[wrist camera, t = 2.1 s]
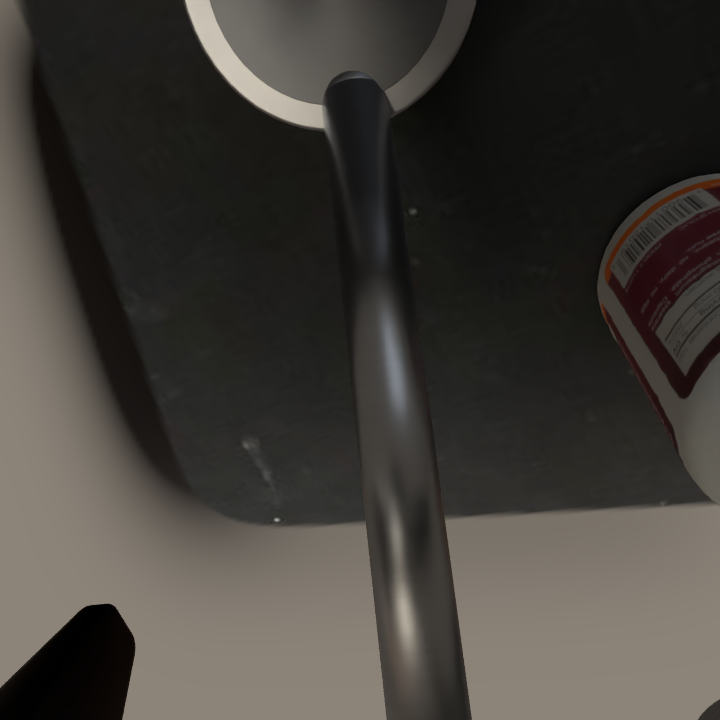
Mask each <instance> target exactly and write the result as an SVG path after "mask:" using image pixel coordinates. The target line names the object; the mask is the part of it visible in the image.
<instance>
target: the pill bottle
mask: <svg viewBox="0 0 720 720" xmlns="http://www.w3.org/2000/svg"><path fill="white" fill-rule="evenodd" d="M597 291H598V299H599V303H600V307H601V311H602V314H603V316H604V318H605V320H606V323H607V324H608V326H609V328H610V331H611V333H612V335H613V337H614V339H615V340H616V342H617V343H618V345H619V346H620V349H621V350H622V352H623V354H624V356H625V357H626V359H627V361H628V362H629V364H630V366H631V368H632V369H633V371H634V373H635V375H636V377H637V379H638V381H639V383H640V385H641V386H642V388H643V390H644V391H645V393H646V395H647V397H648V399H649V401H650V403H651V405H652V406H653V408H654V410H655V412H656V414H657V416H658V418H659V420H660V421H661V423H662V425H663V427H664V428H665V430H666V432H667V434H668V436H669V438H670V440H671V442H672V444H673V445H674V447H675V449H676V451H677V453H678V455H679V457H680V459H681V461H682V463H683V465H684V467H685V468H686V470H687V471H688V473H689V474H690V475H691V477H692V479H693V480H694V481H695V482H696V484H697V485H698V486H699V488H700V489H701V490H702V491H703V492H704V493H705V494H706V495H707V496H708V497H709V498H710V499H712V500H713V501H714V502H715V503H717V504H718V505H719V506H720V174H710V175H703V176H696V177H693V178H690V179H686V180H684V181H681V182H679V183H676V184H674V185H672V186H669V187H667V188H666V189H664V190H662V191H660V192H658V193H657V194H655V195H653V196H652V197H650V198H649V199H647V200H646V201H645V202H643V203H642V204H641V205H640V206H638V207H637V208H636V209H635V210H634V211H633V212H632V213H631V214H630V215H629V216H628V217H627V218H626V219H625V220H624V221H623V223H622V224H621V225H620V226H619V227H618V229H617V230H616V232H615V233H614V235H613V237H612V238H611V240H610V242H609V244H608V246H607V248H606V250H605V253H604V256H603V259H602V261H601V265H600V270H599V276H598V284H597Z"/></svg>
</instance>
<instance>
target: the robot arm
mask: <svg viewBox="0 0 720 720" xmlns="http://www.w3.org/2000/svg"><path fill="white" fill-rule="evenodd" d="M134 656H135V641H134V637H133V635H132V633H131V632H130V630H129V628H128V627H127V625H126V623H125V622H124V620H123V618H122V617H121V615H120V613H119V612H118V610H117V609H116V607H115V606H113V605H111V604H99V605H90V606H86V607H84V608H83V609H82V610H80V611H79V612H78V613H77V614H76V615H75V616H74V617H73V618H72V619H71V620H70V621H69V622H68V623H67V624H66V625H65V626H64V627H62V629H61V630H60V631H58V632H57V633H56V634H55V635H54V636H53V637H52V638H51V639H50V640H49V641H48V642H47V643H46V644H45V645H44V646H43V647H42V648H41V649H40V650H39V651H38V652H37V653H36V654H35V655H34V656H33V657H32V658H31V659H30V660H28V661H27V662H26V663H25V664H24V665H23V666H22V667H21V668H20V669H19V670H18V671H17V672H16V673H15V674H14V675H13V676H12V677H11V678H10V679H9V680H8V681H7V682H6V683H5V684H4V685H3V686H2V687H1V688H0V720H122V717H123V713H124V707H125V702H126V697H127V692H128V687H129V681H130V676H131V671H132V666H133V661H134Z"/></svg>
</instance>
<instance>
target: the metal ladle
mask: <svg viewBox="0 0 720 720" xmlns="http://www.w3.org/2000/svg"><path fill="white" fill-rule="evenodd" d="M477 1H478V0H183V4H184V8H185V12H186V14H187V17H188V20H189V22H190V25H191V28H192V30H193V33H194V35H195V37H196V38H197V40H198V42H199V44H200V46H201V48H202V50H203V52H204V54H205V55H206V57H207V58H208V60H209V61H210V63H211V64H212V66H213V67H214V69H215V70H216V71H217V72H218V74H219V75H220V76H221V77H222V78H223V80H224V81H225V82H226V83H227V84H228V85H229V86H230V87H231V88H232V89H233V90H234V91H235V92H236V93H237V94H238V95H239V96H240V97H241V98H243V99H244V100H245V101H247V102H248V103H249V104H251V105H252V106H253V107H255V108H256V109H257V110H259V111H261V112H263V113H264V114H266V115H268V116H270V117H271V118H273V119H276V120H278V121H280V122H283V123H285V124H288V125H290V126H294V127H298V128H301V129H305V130H310V131H318V132H325V141H326V151H327V160H328V170H329V179H330V188H331V198H332V207H333V217H334V226H335V236H336V245H337V254H338V264H339V273H340V283H341V292H342V302H343V311H344V320H345V330H346V339H347V349H348V358H349V368H350V377H351V386H352V396H353V405H354V415H355V424H356V434H357V443H358V452H359V462H360V471H361V481H362V490H363V500H364V509H365V518H366V528H367V537H368V546H369V555H370V566H371V575H372V584H373V594H374V602H375V613H376V622H377V632H378V641H379V649H380V660H381V669H382V678H383V688H384V697H385V707H386V716H387V720H472V718H471V710H470V703H469V696H468V689H467V681H466V673H465V666H464V658H463V652H462V644H461V636H460V629H459V621H458V614H457V607H456V599H455V592H454V585H453V577H452V570H451V562H450V555H449V548H448V540H447V533H446V525H445V518H444V510H443V503H442V495H441V488H440V481H439V473H438V466H437V458H436V451H435V443H434V436H433V429H432V421H431V414H430V406H429V399H428V392H427V384H426V377H425V369H424V362H423V355H422V347H421V340H420V332H419V325H418V317H417V310H416V303H415V295H414V288H413V280H412V273H411V266H410V258H409V251H408V243H407V236H406V229H405V221H404V214H403V206H402V199H401V191H400V184H399V177H398V169H397V162H396V154H395V147H394V140H393V132H392V125H391V119H392V118H394V117H396V116H398V115H399V114H401V113H402V112H404V111H406V110H407V109H409V108H411V107H412V106H413V105H414V104H416V103H417V102H418V101H419V100H421V99H422V98H423V97H424V96H425V95H426V94H427V93H428V92H429V91H430V90H431V89H432V88H433V87H434V86H435V85H436V84H437V83H438V82H439V81H440V79H441V78H442V77H443V75H444V74H445V73H446V71H447V70H448V69H449V67H450V66H451V64H452V63H453V61H454V59H455V58H456V56H457V54H458V52H459V51H460V49H461V47H462V45H463V43H464V40H465V38H466V36H467V33H468V31H469V29H470V26H471V23H472V19H473V16H474V13H475V10H476V6H477Z"/></svg>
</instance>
